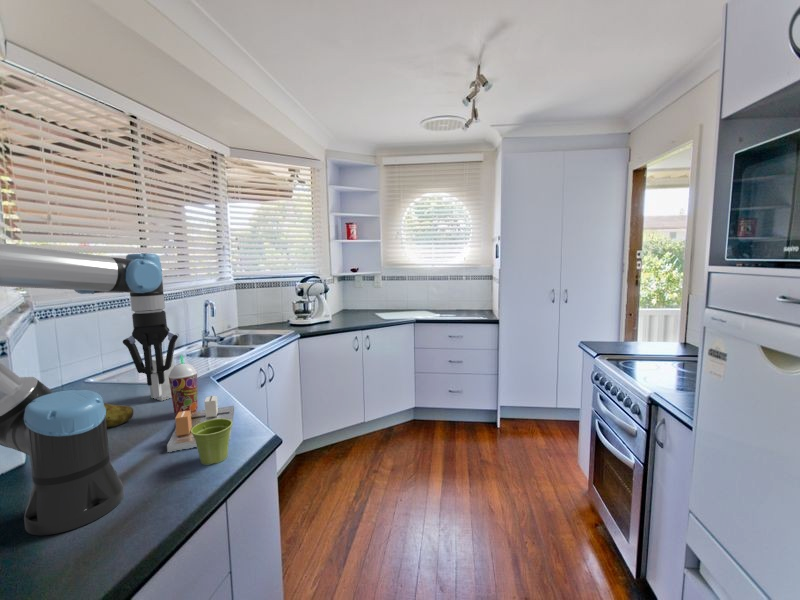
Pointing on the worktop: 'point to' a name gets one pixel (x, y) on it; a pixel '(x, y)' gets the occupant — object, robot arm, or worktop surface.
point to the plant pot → (212, 440)
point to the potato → (117, 414)
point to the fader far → (211, 406)
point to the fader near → (183, 423)
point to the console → (196, 418)
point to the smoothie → (183, 387)
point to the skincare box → (166, 385)
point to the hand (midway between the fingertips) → (157, 395)
